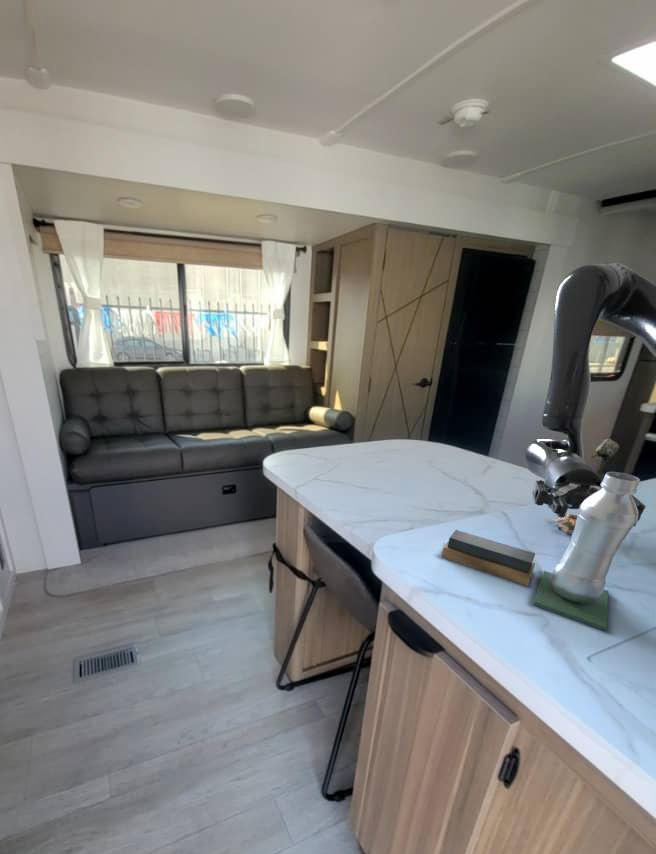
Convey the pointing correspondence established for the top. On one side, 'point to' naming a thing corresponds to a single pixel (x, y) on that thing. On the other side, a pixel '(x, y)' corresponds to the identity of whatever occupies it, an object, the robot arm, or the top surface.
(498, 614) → the top surface
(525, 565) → the grey and wooden block
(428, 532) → the top surface
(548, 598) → the drying mat
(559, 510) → the robot arm
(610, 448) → the plant with pod
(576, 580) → the silver metal bottle
